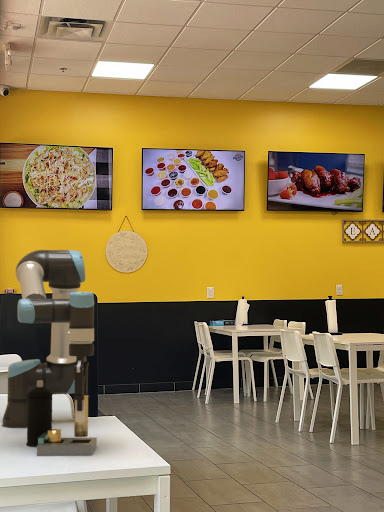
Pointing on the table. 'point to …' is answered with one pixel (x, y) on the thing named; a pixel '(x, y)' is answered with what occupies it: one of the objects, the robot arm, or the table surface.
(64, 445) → the jig
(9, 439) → the table surface
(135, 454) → the table surface
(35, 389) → the aerosol can
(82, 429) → the brass rod
